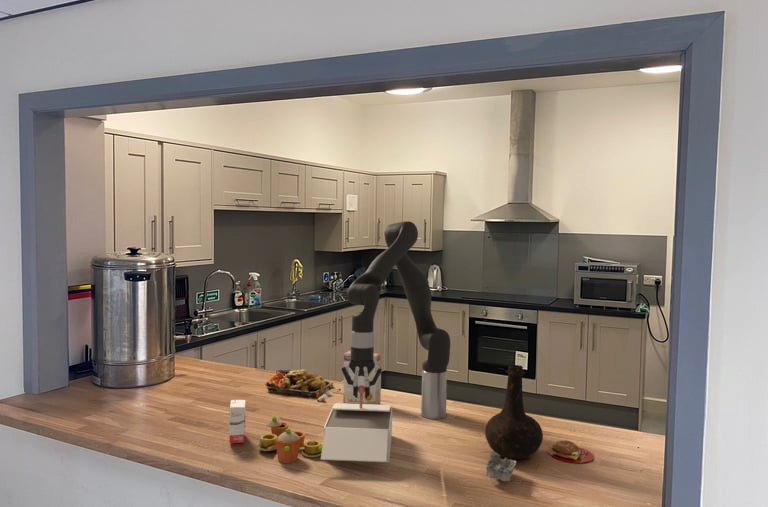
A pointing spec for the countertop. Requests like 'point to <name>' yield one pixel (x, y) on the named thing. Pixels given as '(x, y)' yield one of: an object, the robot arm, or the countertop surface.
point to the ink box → (237, 421)
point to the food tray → (300, 384)
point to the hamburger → (569, 452)
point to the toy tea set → (288, 442)
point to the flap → (361, 406)
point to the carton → (357, 436)
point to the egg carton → (500, 467)
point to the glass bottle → (514, 423)
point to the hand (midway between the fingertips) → (361, 397)
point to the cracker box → (374, 389)
